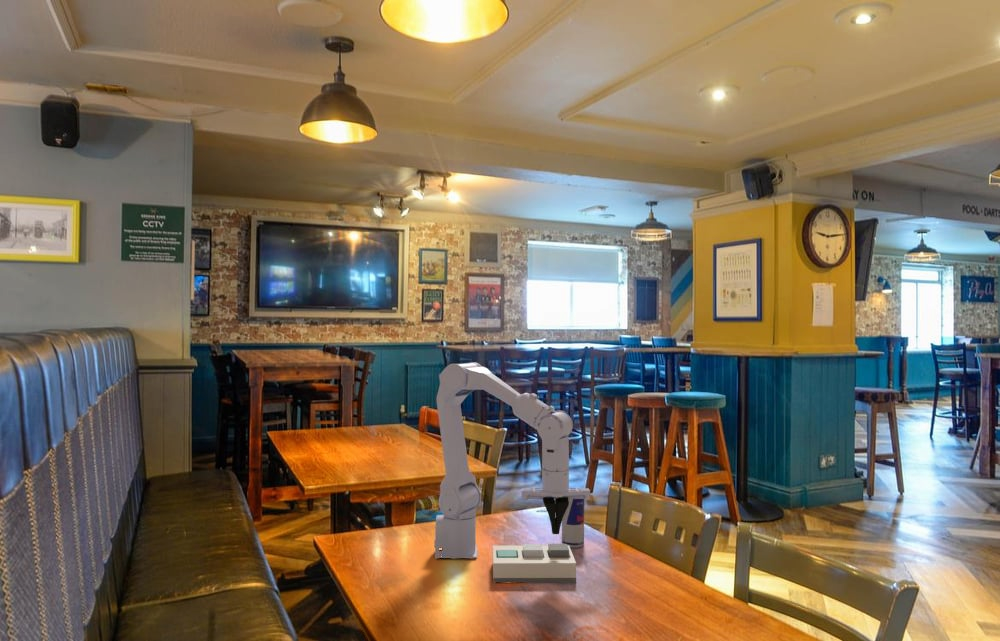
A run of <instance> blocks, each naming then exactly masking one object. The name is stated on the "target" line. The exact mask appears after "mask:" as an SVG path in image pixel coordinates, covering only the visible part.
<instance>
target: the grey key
mask: <svg viewBox="0 0 1000 641" xmlns="http://www.w3.org/2000/svg"><path fill="white" fill-rule="evenodd" d="M522 546H523V558H543V548H542V543H522Z"/></svg>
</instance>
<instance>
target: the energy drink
mask: <svg viewBox="0 0 1000 641" xmlns="http://www.w3.org/2000/svg"><path fill="white" fill-rule="evenodd" d="M568 501H569V505H568V508H567V510H566V512H565V514H564V516H563V519H562V522H561V544H567V545H569V546H570V549H571V548H572V549H578V548H582V547H583V546H584V545H585V499H568Z"/></svg>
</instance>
